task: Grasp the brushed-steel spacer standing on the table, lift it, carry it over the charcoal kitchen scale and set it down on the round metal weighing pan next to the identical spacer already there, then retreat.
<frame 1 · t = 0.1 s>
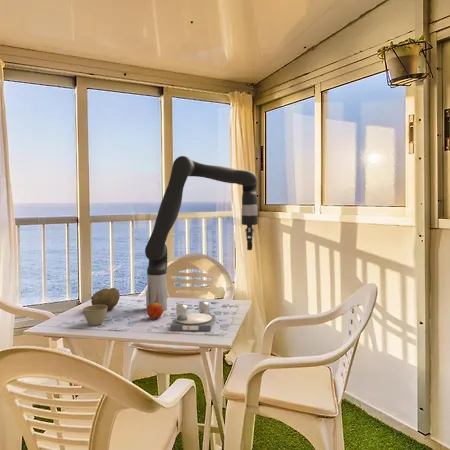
hand: (249, 249, 193), 29 cm above the table, fingers open, 8 cm apart
decorative stone: (105, 310, 199), on the table
scale: (193, 324, 172), on the table
flower pot: (95, 324, 174), on the table
fruit: (154, 319, 182), on the table
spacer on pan: (182, 319, 169), point 3 cm above the table, touching scale
spacer: (204, 315, 187), on the table
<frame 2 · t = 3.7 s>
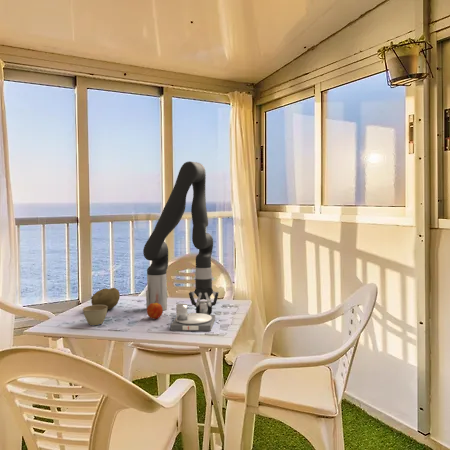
hand: (204, 314, 187), 0 cm above the table, fingers closed on spacer, 4 cm apart
spacer: (204, 314, 187), on the table, touching gripper
everything else where it was.
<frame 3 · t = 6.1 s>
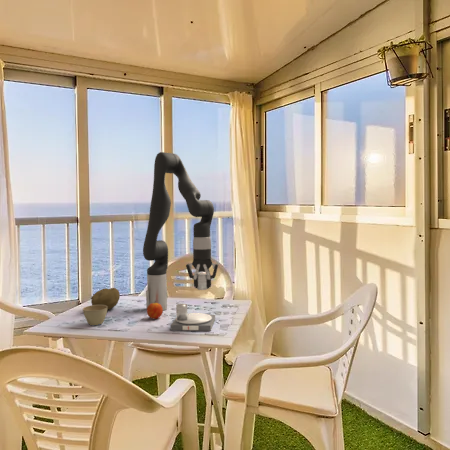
hand: (202, 287, 173), 15 cm above the table, fingers closed on spacer, 4 cm apart
spacer: (202, 288, 173), point 15 cm above the table, touching gripper
everything else where it was.
when the fingers open (4 cm above the table, at t = 8.4 s): spacer stays where it is, resting on scale.
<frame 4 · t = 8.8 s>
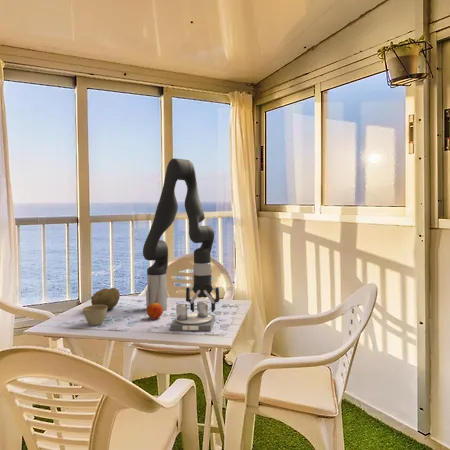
hand: (202, 311, 174), 5 cm above the table, fingers open, 8 cm apart
spacer: (202, 316, 174), point 3 cm above the table, touching scale
everything else where it was.
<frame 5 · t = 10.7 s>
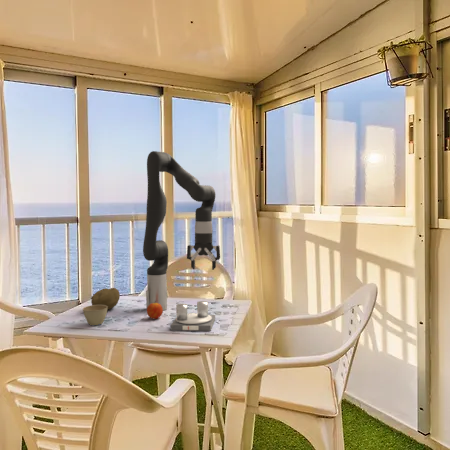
hand: (203, 269, 178), 22 cm above the table, fingers open, 8 cm apart
nothing on the table moved.
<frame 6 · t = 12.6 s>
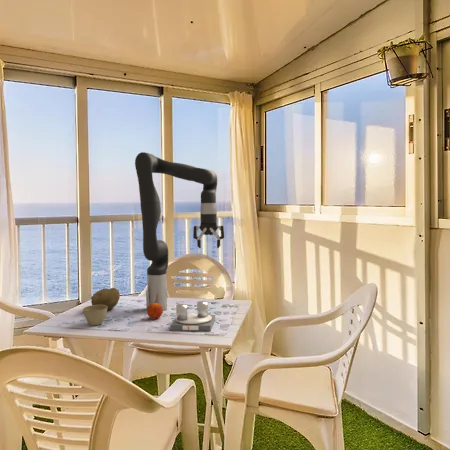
hand: (208, 248, 191), 30 cm above the table, fingers open, 8 cm apart
nothing on the table moved.
at the end: spacer 4.2 cm from the scale (horizontally); spacer point 3.0 cm above the table; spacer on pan 5.1 cm from the scale (horizontally) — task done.
